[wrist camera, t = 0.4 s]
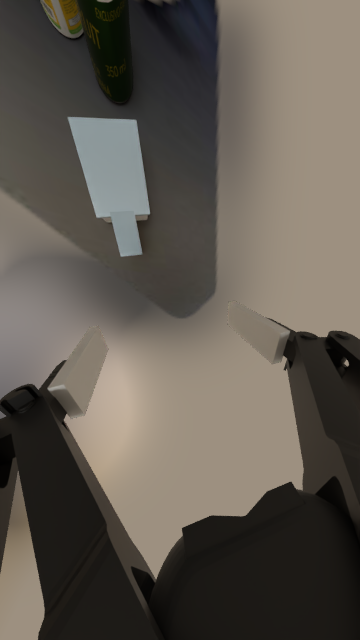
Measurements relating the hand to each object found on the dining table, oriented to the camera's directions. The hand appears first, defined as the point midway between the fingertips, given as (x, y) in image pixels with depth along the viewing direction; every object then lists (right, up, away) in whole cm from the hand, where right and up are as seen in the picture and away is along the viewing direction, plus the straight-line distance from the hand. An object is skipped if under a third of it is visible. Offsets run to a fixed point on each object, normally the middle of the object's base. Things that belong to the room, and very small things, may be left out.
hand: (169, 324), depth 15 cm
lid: (-9, +20, +9) cm, 24 cm away
